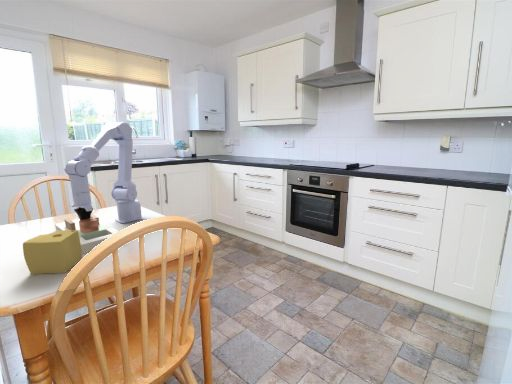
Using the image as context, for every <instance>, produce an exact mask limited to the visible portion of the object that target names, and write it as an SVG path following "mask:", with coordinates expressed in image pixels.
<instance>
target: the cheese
mask: <svg viewBox="0 0 512 384" xmlns="http://www.w3.org/2000/svg"><path fill="white" fill-rule="evenodd" d="M22 252H23V257H24V261H25V263H26V266H27V269H28V271H29V274H30V275H45V274H62V273H67V272H68V271H69V270H70V269H72V267H74V266H75V265H76V264H78V262H80V260H82V259H83V253H82V250H81V244H80V237H79V232H78V230H61V231H53V232H51V233H46V234H39V235H37V236H35V237H32V238H29V239H27V240H26V241H23V243H22ZM81 258H82V259H81Z"/></svg>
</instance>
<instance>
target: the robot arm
mask: <svg viewBox="0 0 512 384" xmlns="http://www.w3.org/2000/svg"><path fill="white" fill-rule="evenodd" d="M110 140H113V141H114V142H116V143H117V145H118V146H119V147H118V168H117V171H118V172H117V180H116V181H115V182H114V183H113V185H112V186H113V187H112V189H111V192H110V193H111V198H112V199H113V200H114V201H115V203H116V208H117V209H116V210H117V216H118V218H115V220H114V221H116V222H118V223H120V224H126V223H131V222H134V221H138V220H142V219H143V216H142V208H141V207H142V206H141V203H140V201H139V199H137V197H138V191H137V189H136V188H137V185H136V184H135V182H133V181H132V170H133V167H132V166H133V146H134V145H133V144H134V143H133V142H134V140H133V127H131V125H130V124H129V123H128V122H127V121H120V122H117V121H116V122H112V121H109V122H106V123H105V124H104V125H103V126H102V127H101V131H100V132H99V134H98V135H97V136H96V138H94V140H93V142H92V143H91V144H90V145H85V146H82V147H81V150H80V152H79V153H78V154H77V155H76V156H74V158H73V160H70V161H68V162H67V163H66V165H65V167H64V172H65V173H66V174H67V176H68V179H69V181H70V187H71V194H72V199H73V200H72V201H73V203H72V204H70V208H71V207H72V208H74V209H73V210H74V212H75V213H76V215H77V217H78V218H79V219H80V220H84V219H89V218H90V217H91V214H92V213H93V210H94V208H93V205H92V204H93V202H92V199H91V192H90V183H89V178H88V175H89V174H90V172H91V167H92V165H93V163H94V162H95V161H96V160H97V159H98V157H100V151H101V149H102V148H103V147H104V146H105V145H106V144H107V143H109V141H110Z"/></svg>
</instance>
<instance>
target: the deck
mask: <svg viewBox="0 0 512 384" xmlns="http://www.w3.org/2000/svg"><path fill="white" fill-rule="evenodd" d="M90 218H94V219H96V220H98V227H99V230H97V231H93V232H89V233H85V234H84V233H83V232H81V231H80V226H79V221H80V219H74V220H72V219H70V218H65V219H64V221H63V222H60V223H55V225H54V226H55V230H56V231H61V230H78V232H79V237H80V244H81V250H82V254H83V253H84V254H85V253H87V252H88V253H89V252H90V250H91V251H93V250H92V249H93V248H94V247H95V246H97V245H98V244H100V243H101V242H102V241H104V240H105V239H107V238H108V237H110V236H111V235H113V234H115V233H116V232H118V231H119V230H118V229H116V228H114V227H112V226H110V225H108V224H107V223H105V222H103V221H101V220H100V218H99V216H98V215H97V216H96V215H95V214H92V213H91V217H90ZM56 231H55V232H56Z"/></svg>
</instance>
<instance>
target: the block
mask: <svg viewBox="0 0 512 384" xmlns="http://www.w3.org/2000/svg"><path fill="white" fill-rule="evenodd" d="M79 226H80V231H81V232H83V233H84V234H85V233H89V232H93V231H97V230H99V227H98V220H96V219H94V218H89V219H84V220H80V221H79Z"/></svg>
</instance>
